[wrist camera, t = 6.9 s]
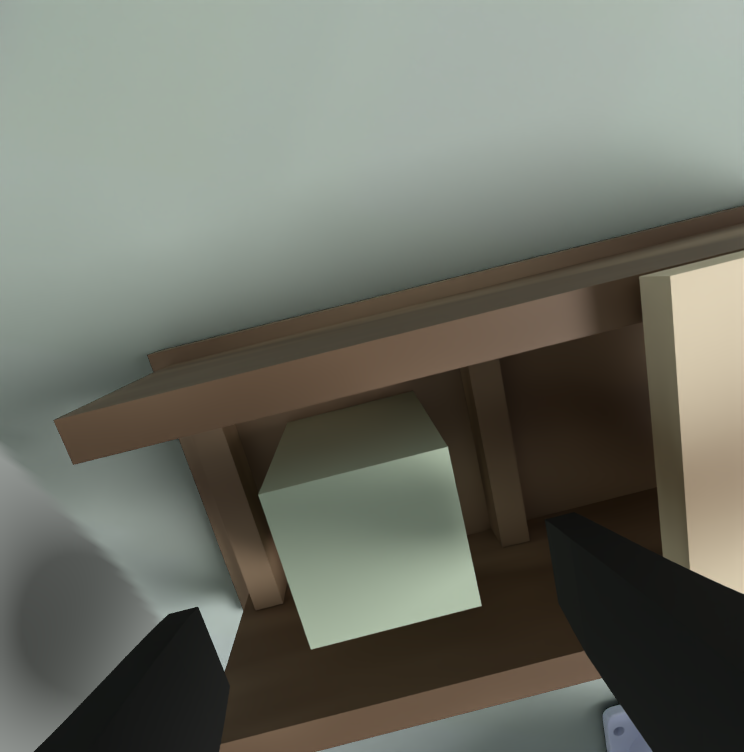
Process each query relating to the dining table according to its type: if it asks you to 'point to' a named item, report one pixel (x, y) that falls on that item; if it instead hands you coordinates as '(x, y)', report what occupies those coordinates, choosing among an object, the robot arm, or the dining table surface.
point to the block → (368, 520)
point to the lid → (698, 412)
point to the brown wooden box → (468, 458)
